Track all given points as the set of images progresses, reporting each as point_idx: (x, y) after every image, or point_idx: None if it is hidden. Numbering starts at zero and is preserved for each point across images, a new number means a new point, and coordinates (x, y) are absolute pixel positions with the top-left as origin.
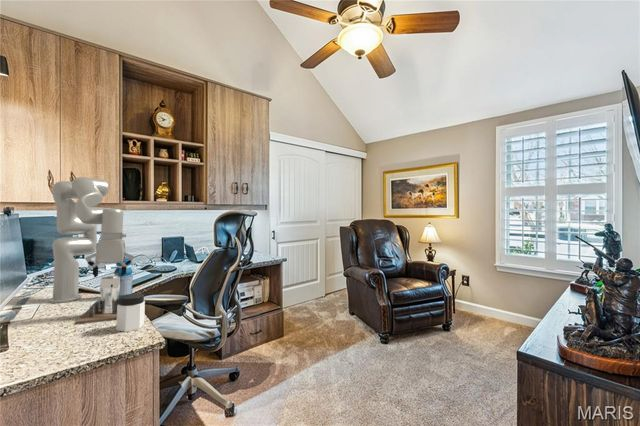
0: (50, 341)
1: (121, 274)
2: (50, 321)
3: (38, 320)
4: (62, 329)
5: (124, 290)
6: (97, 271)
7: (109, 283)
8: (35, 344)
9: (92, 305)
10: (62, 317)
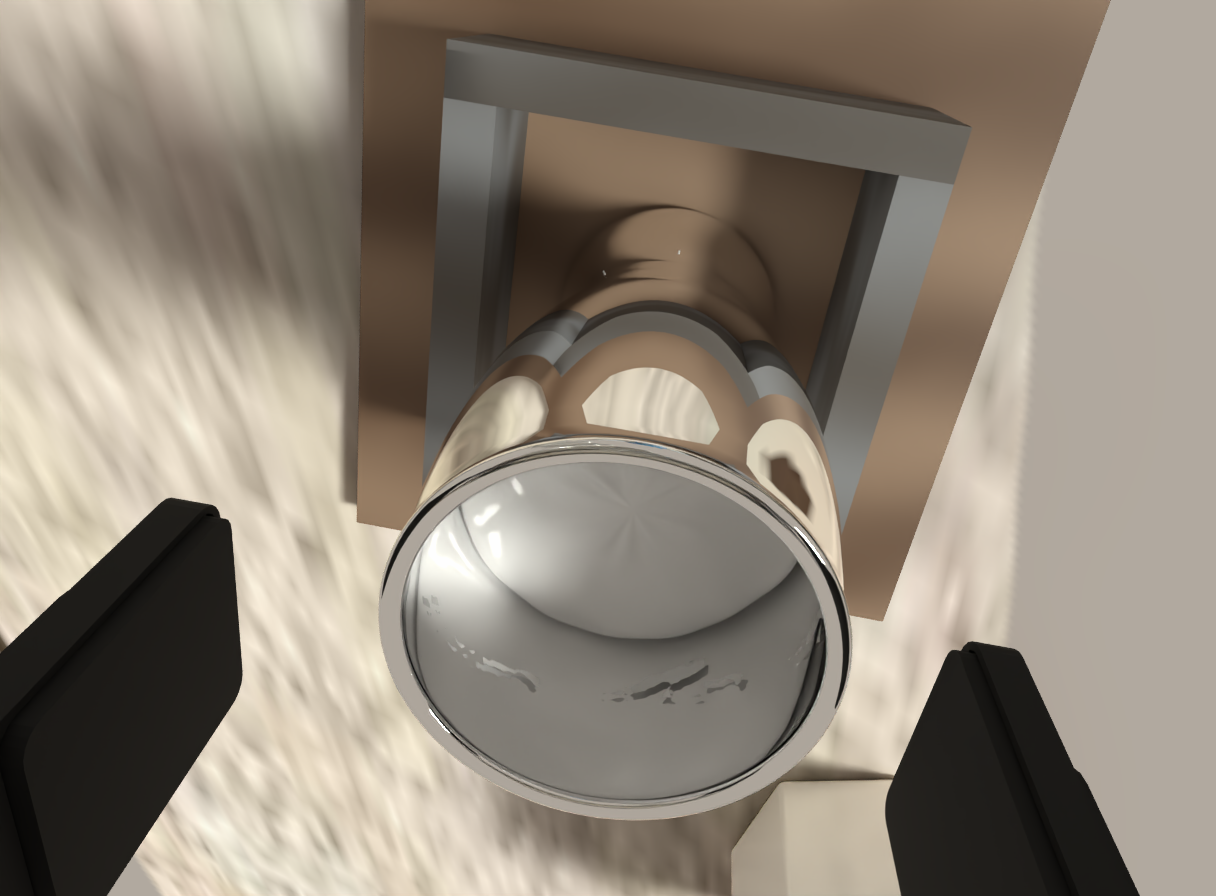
0: (314, 810)
1: (894, 846)
2: (64, 237)
3: None
4: (300, 595)
5: None
6: (150, 699)
7: (611, 728)
8: (239, 812)
9: (437, 398)
10: (126, 113)
